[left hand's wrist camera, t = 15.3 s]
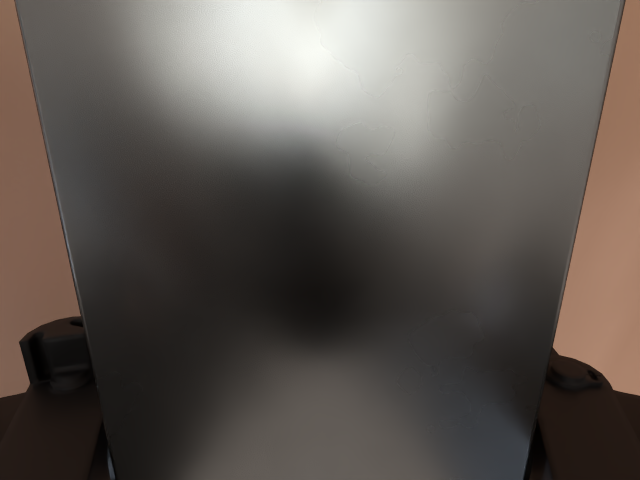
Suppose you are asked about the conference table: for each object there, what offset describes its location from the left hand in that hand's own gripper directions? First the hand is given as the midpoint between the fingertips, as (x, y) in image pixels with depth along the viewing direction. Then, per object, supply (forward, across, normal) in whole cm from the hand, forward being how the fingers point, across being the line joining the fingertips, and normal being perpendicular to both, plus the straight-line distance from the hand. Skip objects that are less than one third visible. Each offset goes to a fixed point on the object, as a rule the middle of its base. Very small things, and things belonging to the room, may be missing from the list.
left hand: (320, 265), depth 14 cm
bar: (+1, 0, -8) cm, 8 cm away
